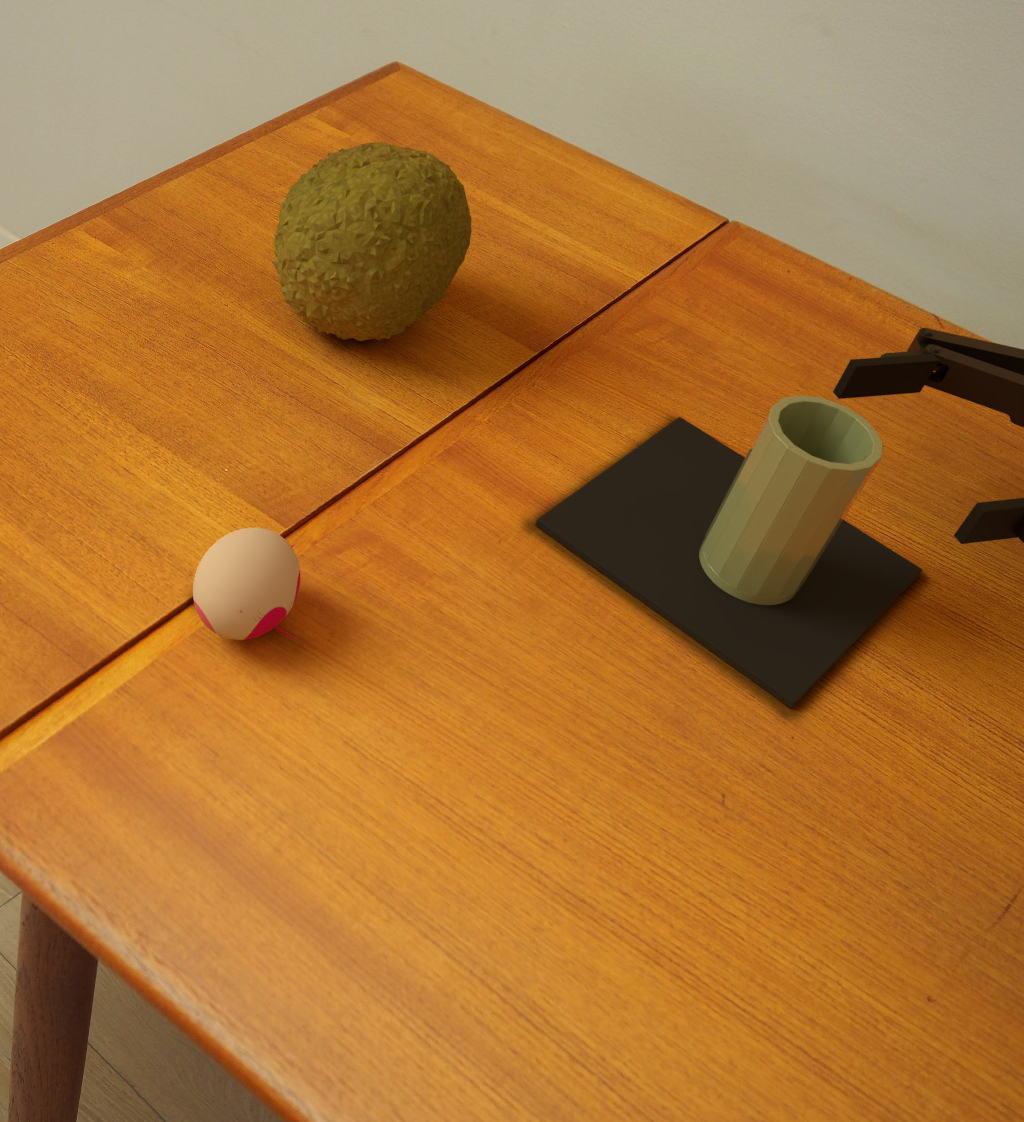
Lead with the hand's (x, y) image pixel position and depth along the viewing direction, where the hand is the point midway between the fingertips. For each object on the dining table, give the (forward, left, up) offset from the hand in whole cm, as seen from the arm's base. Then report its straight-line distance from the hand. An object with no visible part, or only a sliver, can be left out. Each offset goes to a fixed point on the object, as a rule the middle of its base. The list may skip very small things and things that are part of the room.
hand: (902, 447), depth 79 cm
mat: (+5, +5, -11) cm, 13 cm away
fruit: (+39, +6, -11) cm, 41 cm away
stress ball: (+21, +35, -11) cm, 42 cm away
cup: (+3, +6, -10) cm, 12 cm away
